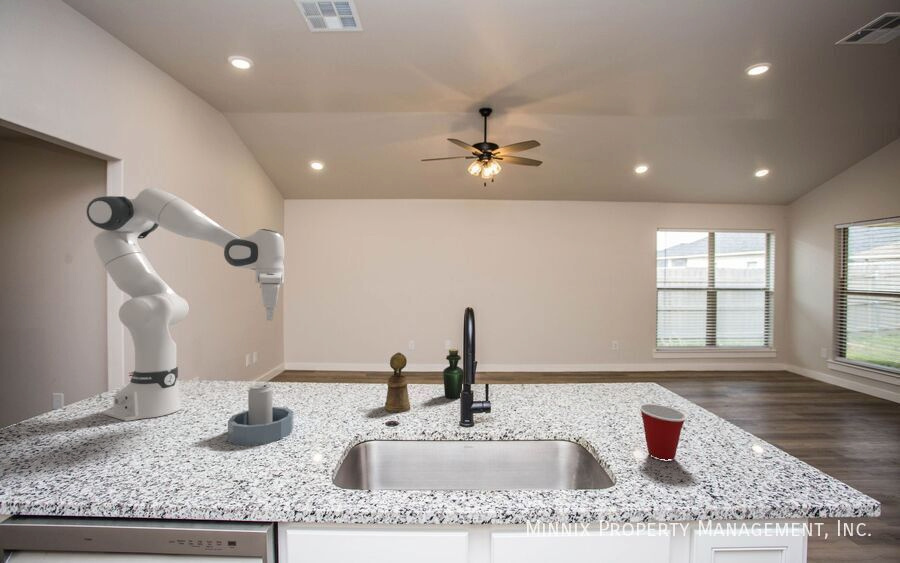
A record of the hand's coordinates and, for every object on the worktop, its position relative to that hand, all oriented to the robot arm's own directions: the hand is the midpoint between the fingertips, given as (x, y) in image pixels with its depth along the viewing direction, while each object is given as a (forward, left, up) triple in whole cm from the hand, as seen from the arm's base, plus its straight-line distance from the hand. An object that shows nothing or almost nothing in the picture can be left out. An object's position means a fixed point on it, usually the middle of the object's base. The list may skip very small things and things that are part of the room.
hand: (269, 319), depth 130 cm
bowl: (+11, -16, -31) cm, 37 cm away
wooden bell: (+39, +18, -31) cm, 53 cm away
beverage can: (+8, -14, -30) cm, 34 cm away
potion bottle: (+55, +35, -31) cm, 72 cm away
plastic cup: (+119, -1, -31) cm, 123 cm away
